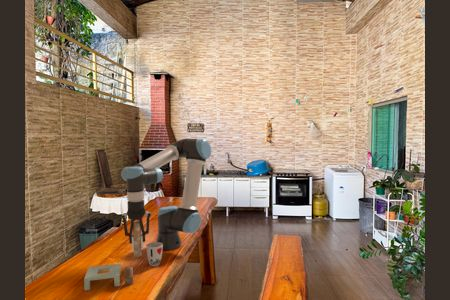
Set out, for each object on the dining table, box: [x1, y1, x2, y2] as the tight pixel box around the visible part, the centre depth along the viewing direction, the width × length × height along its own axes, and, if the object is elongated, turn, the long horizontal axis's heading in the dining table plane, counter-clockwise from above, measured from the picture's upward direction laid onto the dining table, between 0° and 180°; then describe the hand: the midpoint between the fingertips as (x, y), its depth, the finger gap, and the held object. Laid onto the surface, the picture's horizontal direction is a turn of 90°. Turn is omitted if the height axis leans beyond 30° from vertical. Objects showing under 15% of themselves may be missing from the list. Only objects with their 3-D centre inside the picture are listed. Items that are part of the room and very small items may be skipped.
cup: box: [146, 241, 163, 267], centre depth 156 cm, size 8×8×10 cm
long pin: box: [132, 220, 143, 258], centre depth 144 cm, size 3×3×16 cm
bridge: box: [83, 263, 122, 291], centre depth 138 cm, size 14×12×5 cm
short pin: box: [124, 266, 134, 286], centre depth 136 cm, size 3×3×7 cm
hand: (137, 249), depth 144 cm, fingers closed on long pin, 3 cm apart
